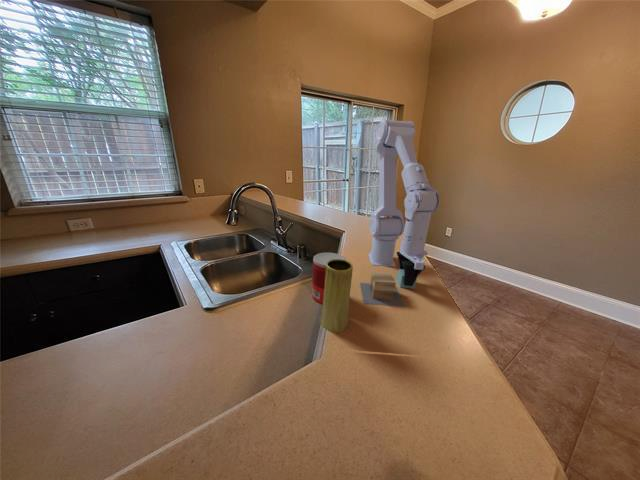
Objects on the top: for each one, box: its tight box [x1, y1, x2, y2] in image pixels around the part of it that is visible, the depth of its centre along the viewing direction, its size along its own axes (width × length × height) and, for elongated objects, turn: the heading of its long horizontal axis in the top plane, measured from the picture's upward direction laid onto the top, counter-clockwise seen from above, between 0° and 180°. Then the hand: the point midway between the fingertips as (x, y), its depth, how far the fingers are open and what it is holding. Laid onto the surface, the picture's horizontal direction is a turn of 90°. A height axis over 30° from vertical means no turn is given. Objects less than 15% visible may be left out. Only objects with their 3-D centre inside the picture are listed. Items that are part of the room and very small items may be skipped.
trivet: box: [359, 282, 406, 308], centre depth 65 cm, size 10×10×1 cm
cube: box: [396, 268, 418, 289], centre depth 70 cm, size 4×4×4 cm
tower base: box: [370, 281, 394, 300], centre depth 65 cm, size 5×5×2 cm
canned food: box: [311, 252, 347, 306], centre depth 61 cm, size 8×8×11 cm
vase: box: [320, 259, 354, 333], centre depth 51 cm, size 6×6×14 cm
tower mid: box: [370, 271, 397, 291], centre depth 64 cm, size 5×5×2 cm
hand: (406, 280), depth 70 cm, fingers closed on cube, 4 cm apart
